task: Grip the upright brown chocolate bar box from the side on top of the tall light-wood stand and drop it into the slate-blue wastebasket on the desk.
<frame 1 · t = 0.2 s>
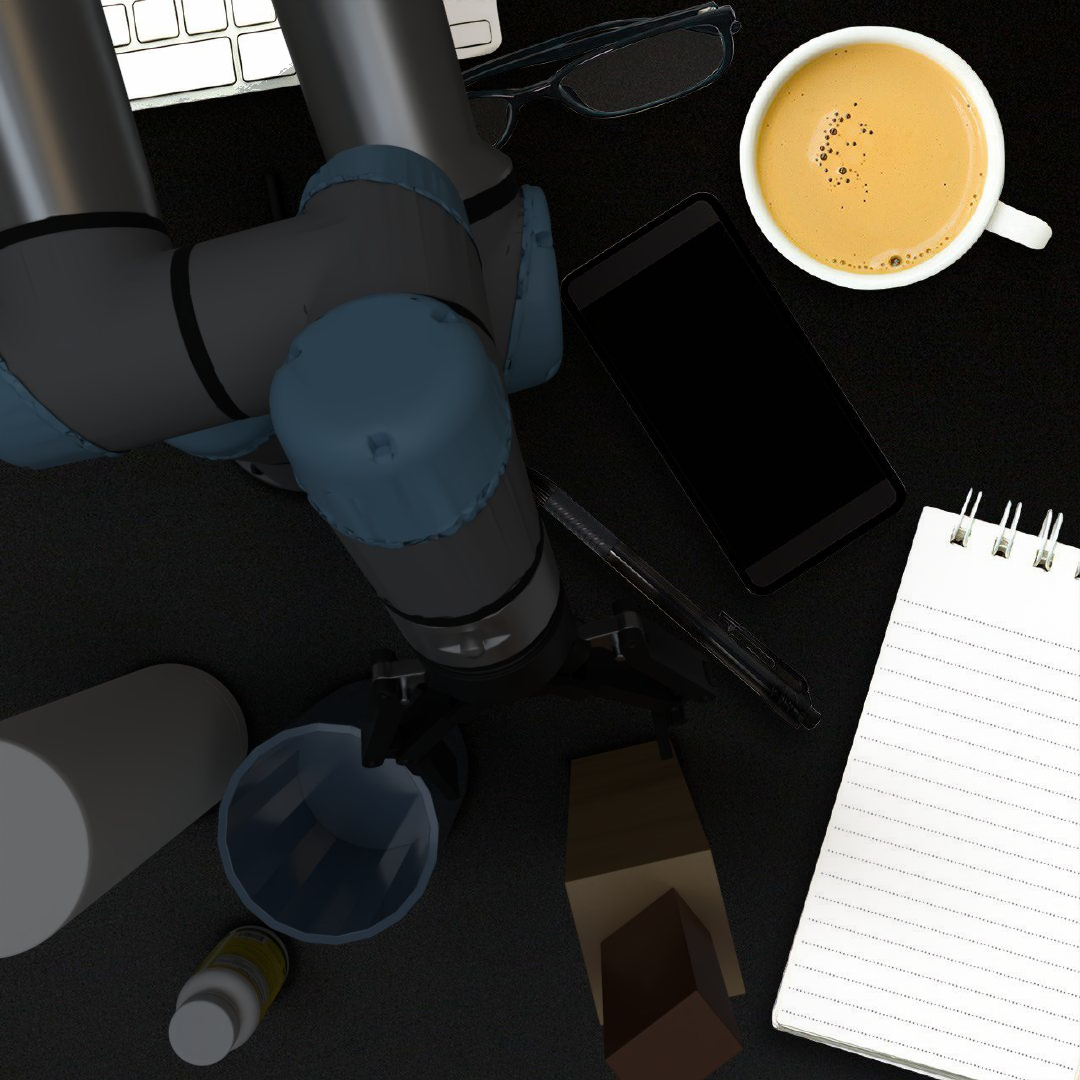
hand: (556, 759, 61), 16 cm above the table, tool tilted 35°, fingers open, 13 cm apart
pill bottle: (255, 959, 79), on the table
bin: (380, 766, 77), on the table
cable holder: (655, 944, 77), on the table
stand: (632, 797, 76), on the table
chocolate box: (655, 938, 52), point 25 cm above the table, touching stand
cylinder: (173, 739, 78), on the table
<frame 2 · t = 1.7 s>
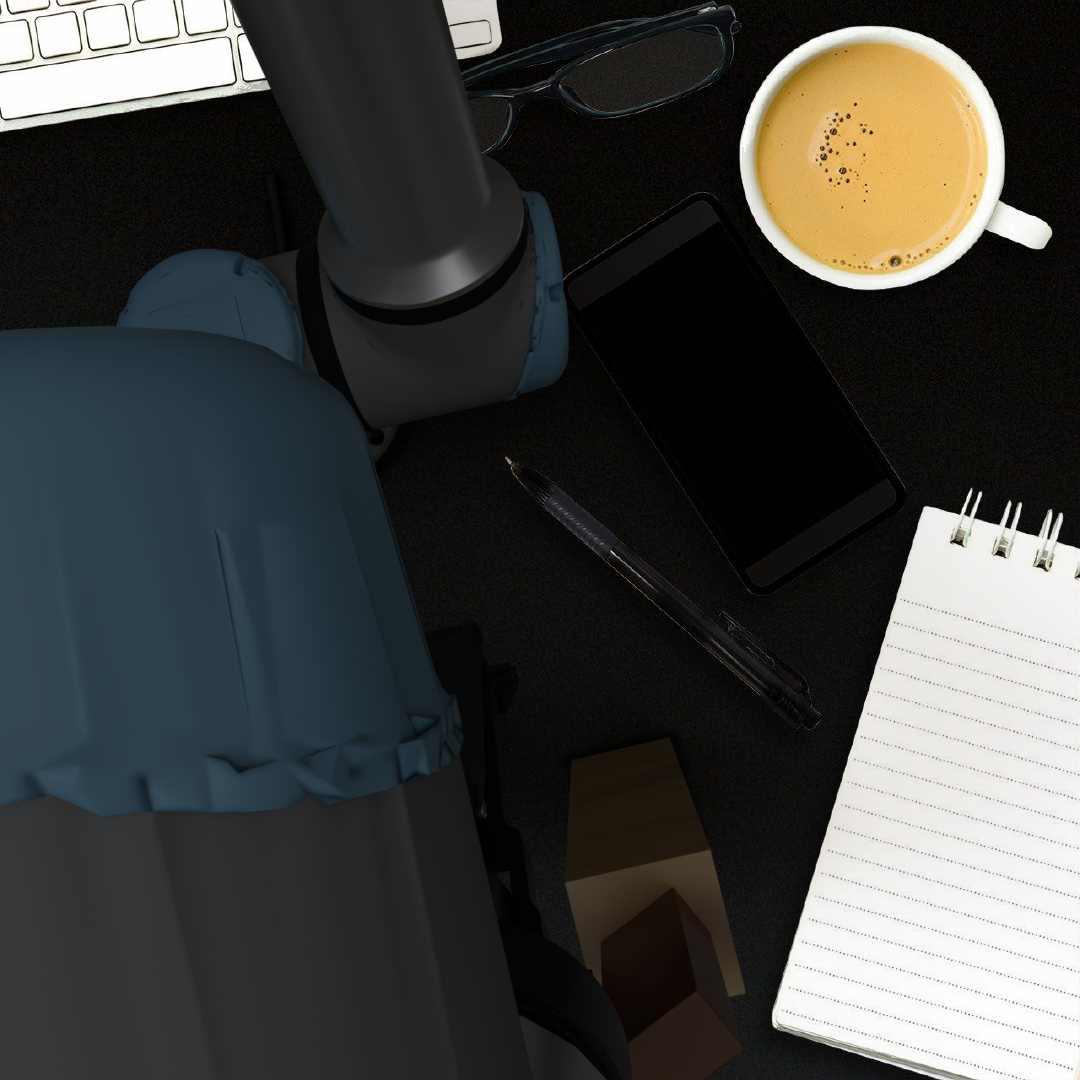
hand: (525, 832, 42), 35 cm above the table, tool pointing down, fingers open, 13 cm apart
nothing on the table moved.
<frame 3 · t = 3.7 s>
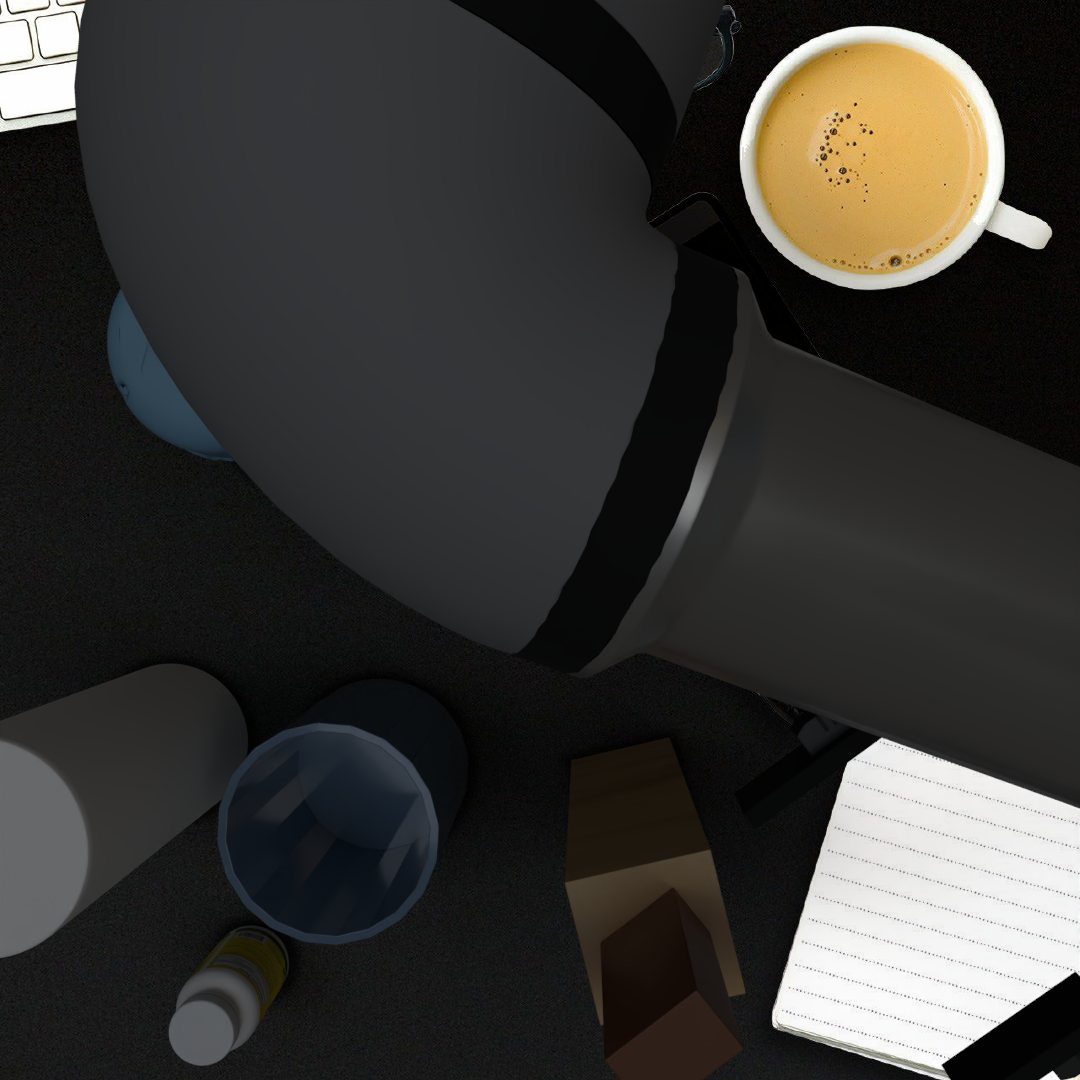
hand: (850, 951, 38), 39 cm above the table, tool horizontal, fingers open, 13 cm apart
nothing on the table moved.
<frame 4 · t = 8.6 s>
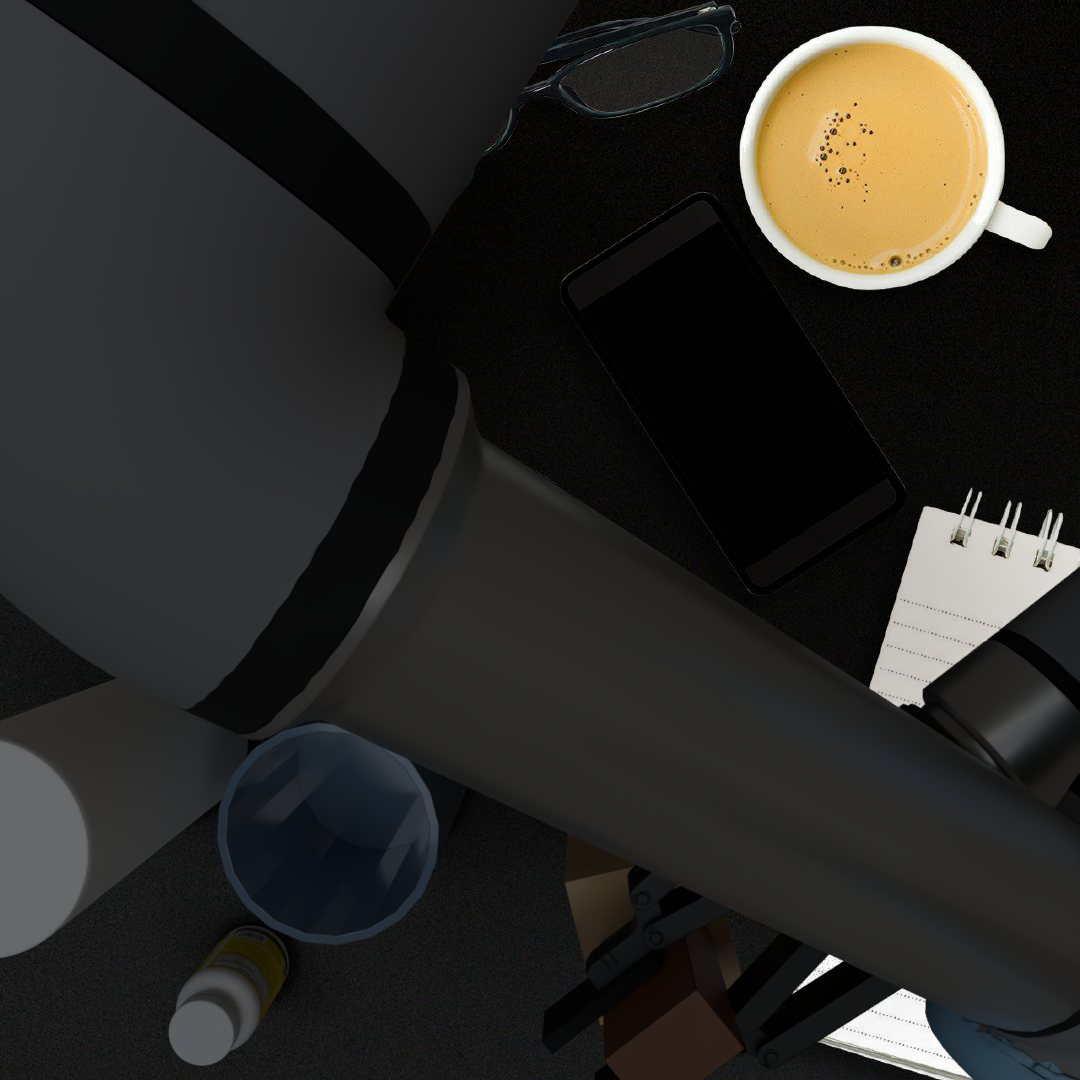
hand: (574, 1063, 46), 31 cm above the table, tool horizontal, fingers closed on chocolate box, 3 cm apart
chocolate box: (655, 938, 52), point 25 cm above the table, touching gripper, stand
everything else where it was.
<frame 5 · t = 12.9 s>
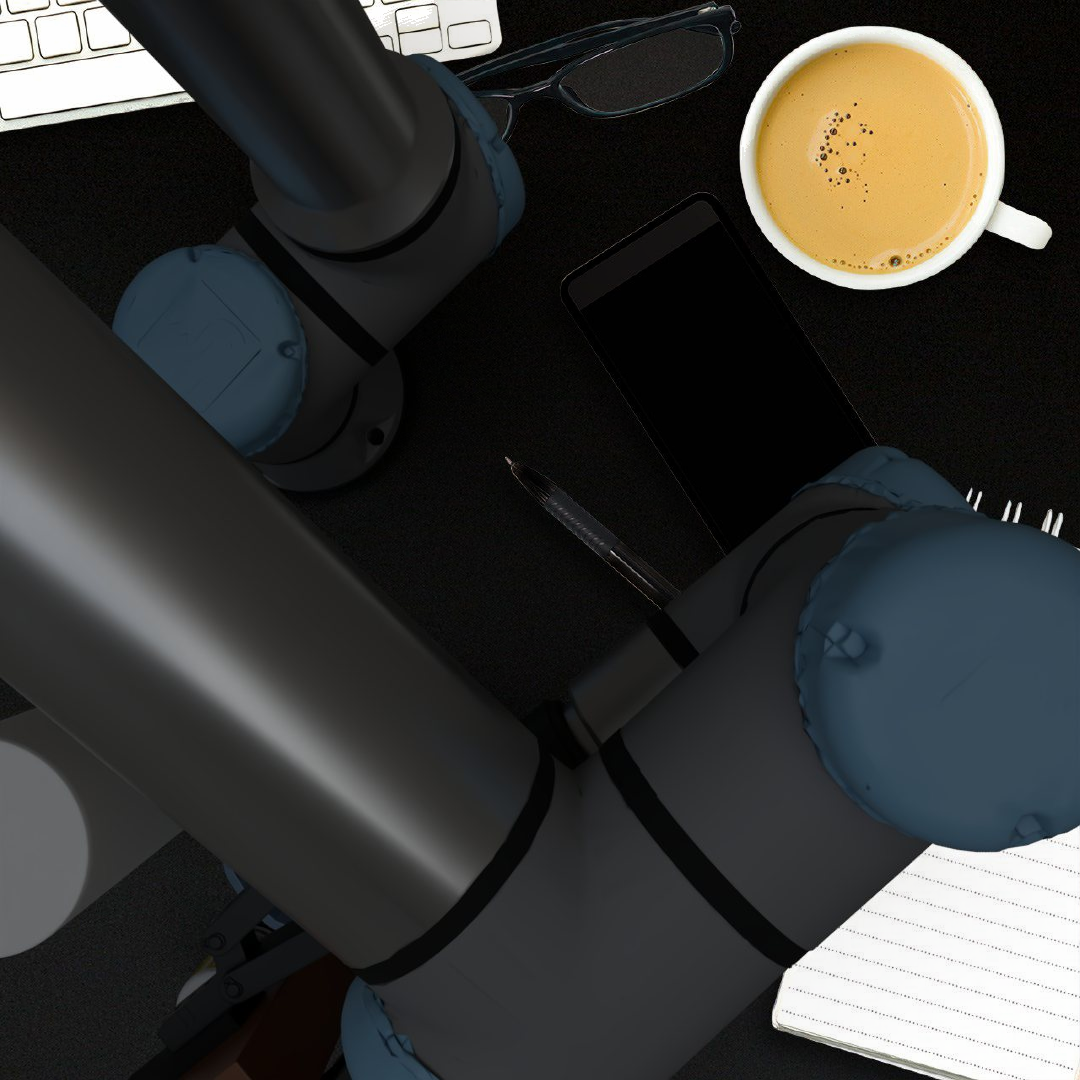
chocolate box: (303, 980, 43), point 34 cm above the table, touching gripper
everything else where it was.
when the fingers open (23 cm above the table, at t = 17.4 s): chocolate box drops 16 cm, resting on bin.
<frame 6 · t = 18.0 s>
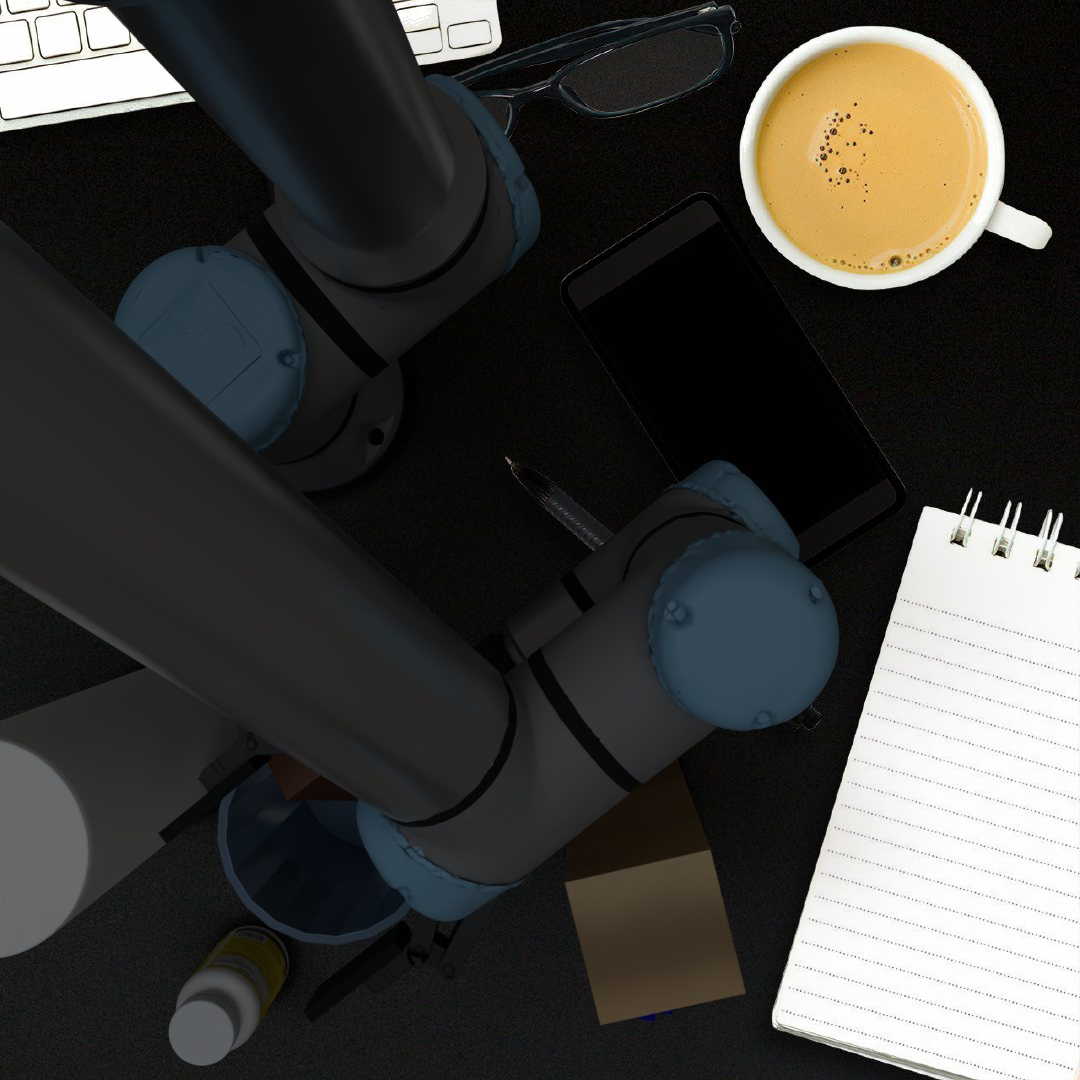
hand: (242, 918, 54), 23 cm above the table, tool horizontal, fingers open, 12 cm apart
chocolate box: (372, 765, 76), point 1 cm above the table, tilted 21°, touching bin
everything else where it was.
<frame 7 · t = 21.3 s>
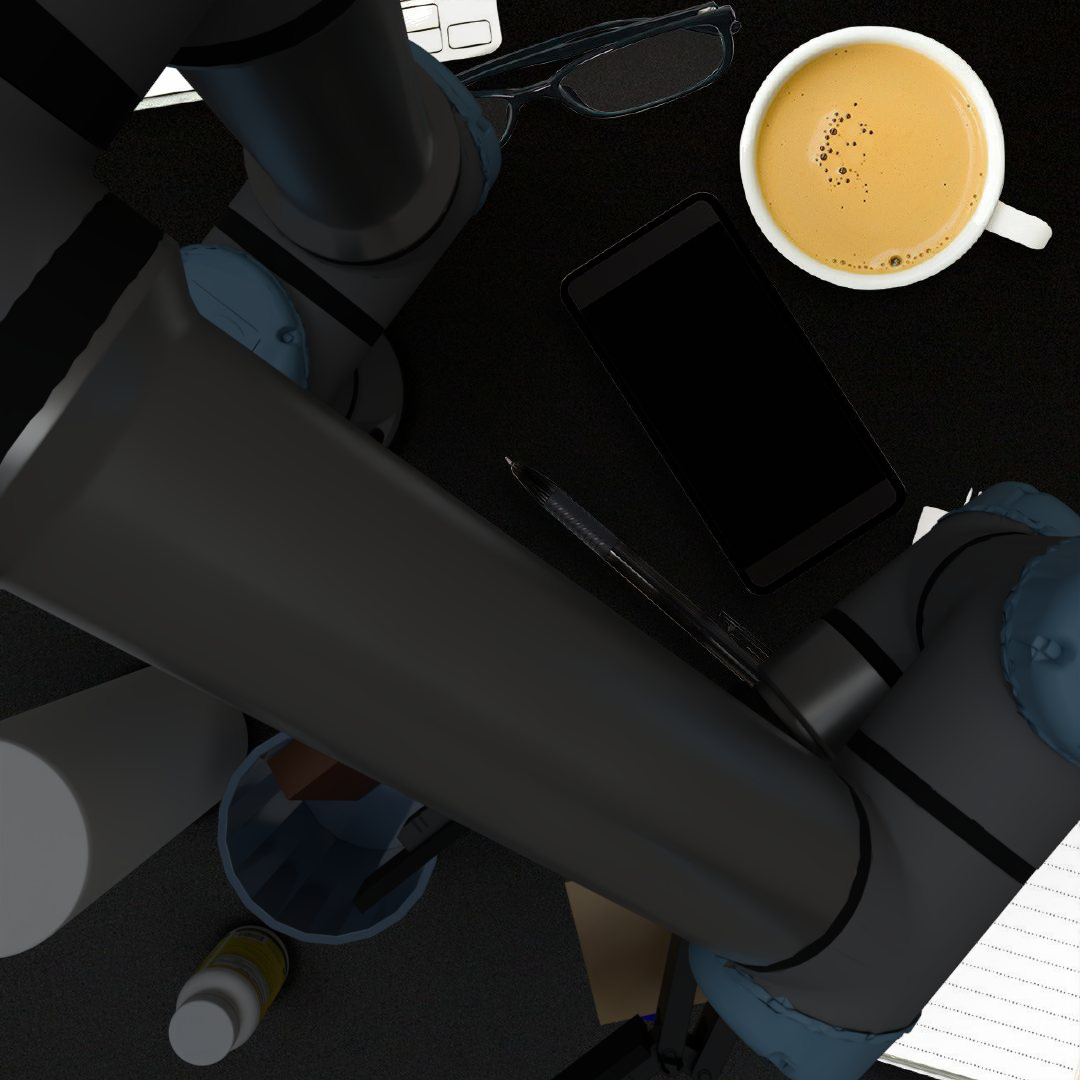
hand: (450, 1005, 47), 30 cm above the table, tool horizontal, fingers open, 13 cm apart
nothing on the table moved.
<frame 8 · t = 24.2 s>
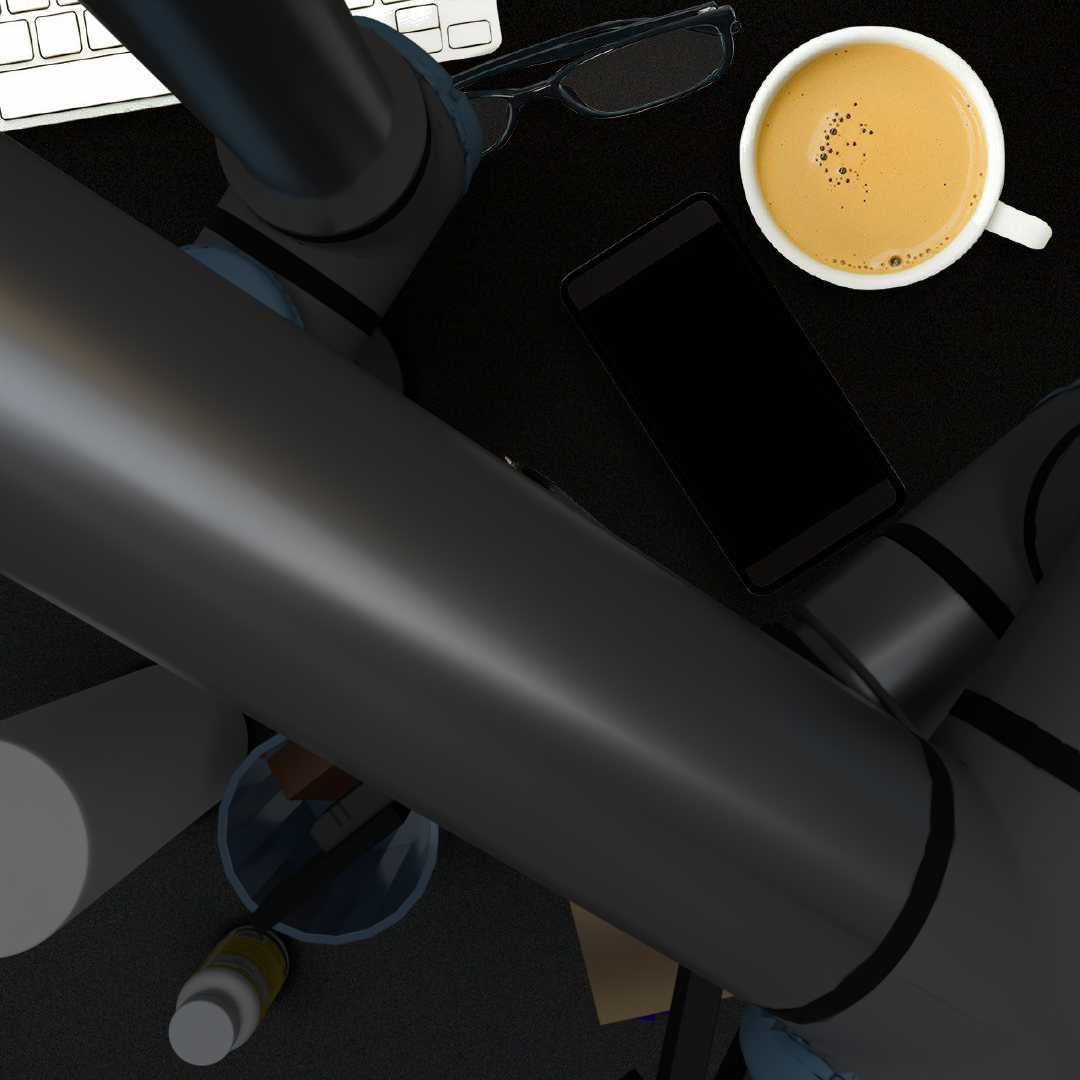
hand: (383, 1059, 35), 42 cm above the table, tool horizontal, fingers open, 13 cm apart
nothing on the table moved.
at the end: chocolate box inside the target area in the bin (0.6 cm from its centre), point 1.1 cm above the bin's base; the gripper is holding nothing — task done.
